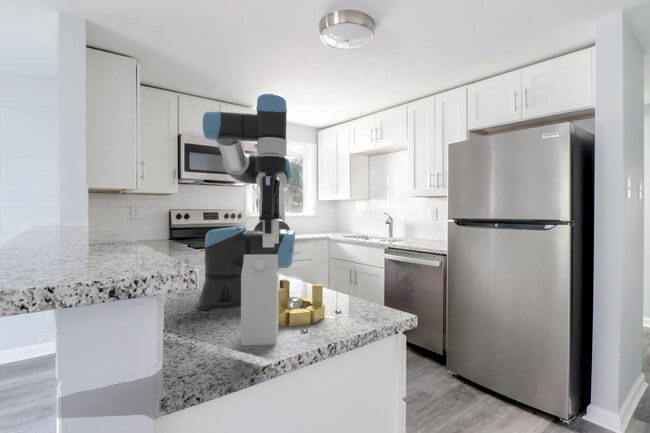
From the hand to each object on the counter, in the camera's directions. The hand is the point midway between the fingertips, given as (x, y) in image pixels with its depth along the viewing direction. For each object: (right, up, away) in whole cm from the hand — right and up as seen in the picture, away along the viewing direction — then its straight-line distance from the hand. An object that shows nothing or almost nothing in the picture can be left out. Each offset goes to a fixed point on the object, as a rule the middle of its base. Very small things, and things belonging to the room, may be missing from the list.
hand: (271, 245), depth 88 cm
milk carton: (0, -20, -15) cm, 25 cm away
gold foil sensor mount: (+6, -18, 0) cm, 19 cm away
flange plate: (+6, -19, 0) cm, 20 cm away
